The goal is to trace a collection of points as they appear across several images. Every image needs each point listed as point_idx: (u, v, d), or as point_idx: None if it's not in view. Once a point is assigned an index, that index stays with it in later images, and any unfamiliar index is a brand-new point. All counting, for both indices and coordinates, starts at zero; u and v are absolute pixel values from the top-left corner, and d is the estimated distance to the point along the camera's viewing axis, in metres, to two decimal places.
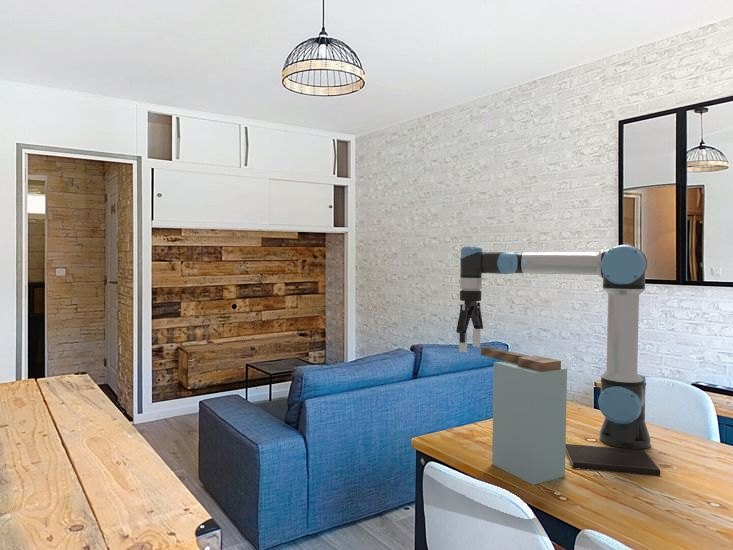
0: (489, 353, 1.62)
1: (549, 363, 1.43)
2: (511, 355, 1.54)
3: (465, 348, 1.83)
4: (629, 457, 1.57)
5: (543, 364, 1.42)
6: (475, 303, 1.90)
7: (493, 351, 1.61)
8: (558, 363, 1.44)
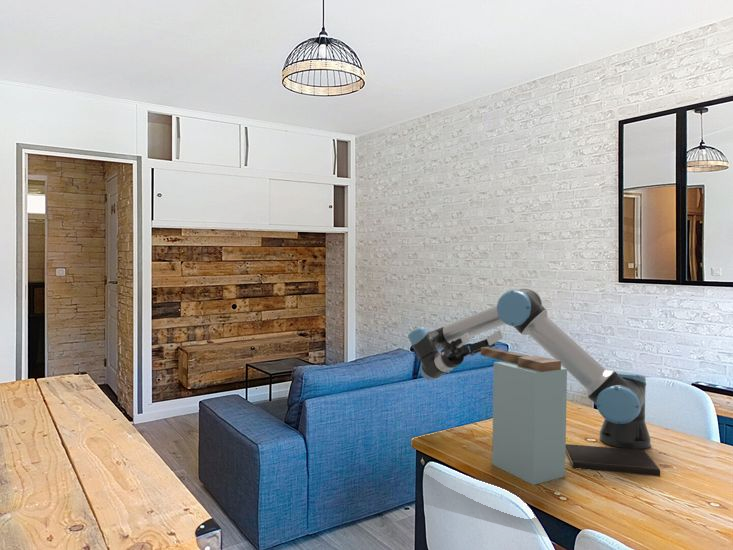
0: (489, 353, 1.62)
1: (549, 363, 1.43)
2: (511, 355, 1.54)
3: (464, 335, 1.72)
4: (629, 457, 1.57)
5: (543, 364, 1.42)
6: None
7: (493, 351, 1.61)
8: (558, 363, 1.44)
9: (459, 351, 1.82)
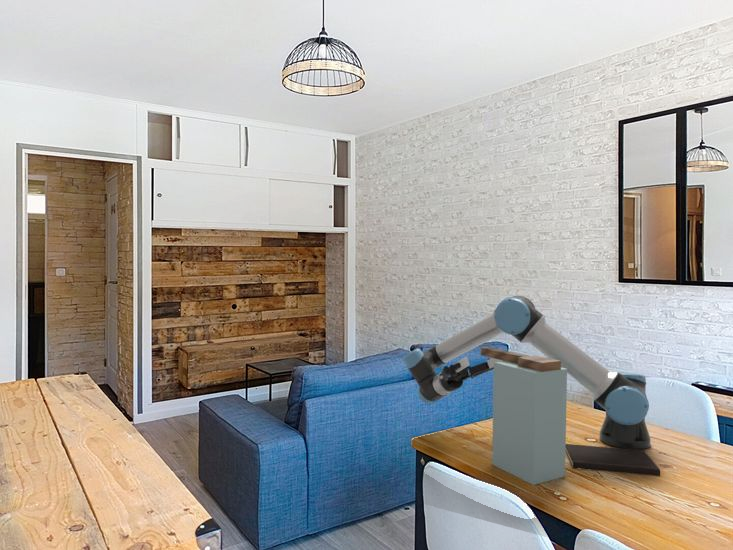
0: (489, 353, 1.62)
1: (549, 363, 1.43)
2: (511, 355, 1.54)
3: (463, 359, 1.64)
4: (629, 457, 1.57)
5: (543, 364, 1.42)
6: None
7: (493, 351, 1.61)
8: (558, 363, 1.44)
9: (458, 375, 1.74)
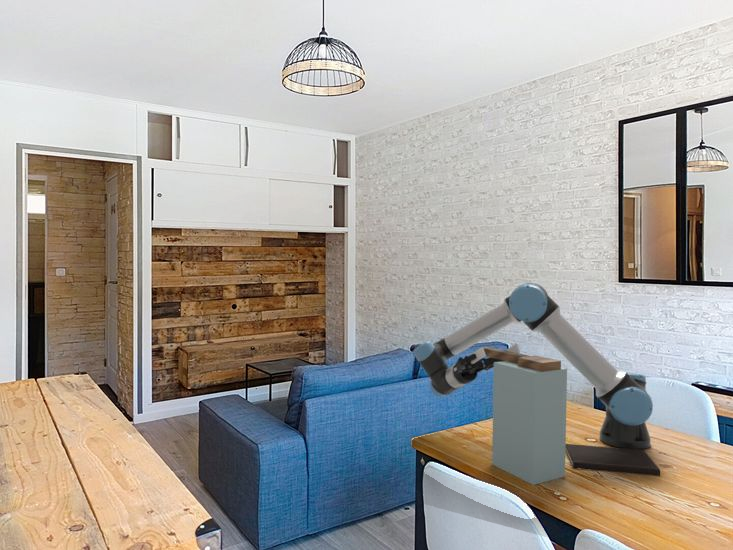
0: (489, 353, 1.62)
1: (549, 363, 1.43)
2: (511, 355, 1.54)
3: (479, 350, 1.58)
4: (629, 457, 1.57)
5: (543, 364, 1.42)
6: None
7: (493, 351, 1.61)
8: (558, 363, 1.44)
9: (473, 366, 1.68)
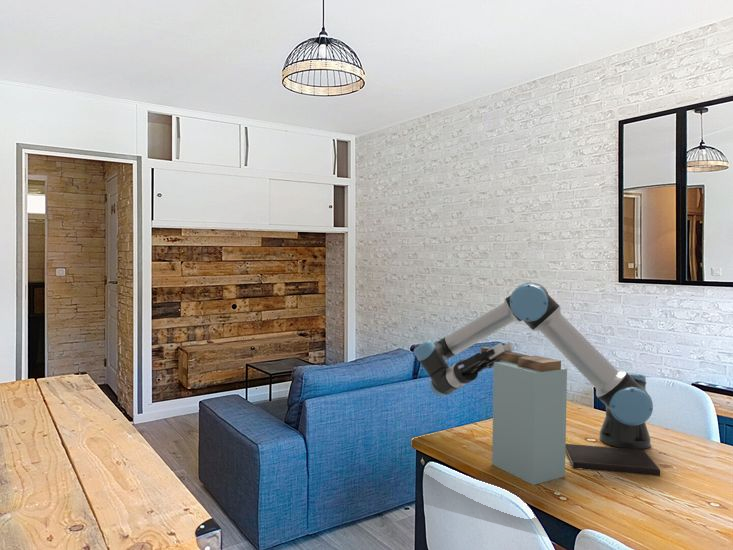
0: None
1: (549, 363, 1.43)
2: (511, 355, 1.54)
3: (497, 345, 1.59)
4: (629, 457, 1.57)
5: (543, 364, 1.42)
6: None
7: None
8: (558, 363, 1.44)
9: (473, 366, 1.68)
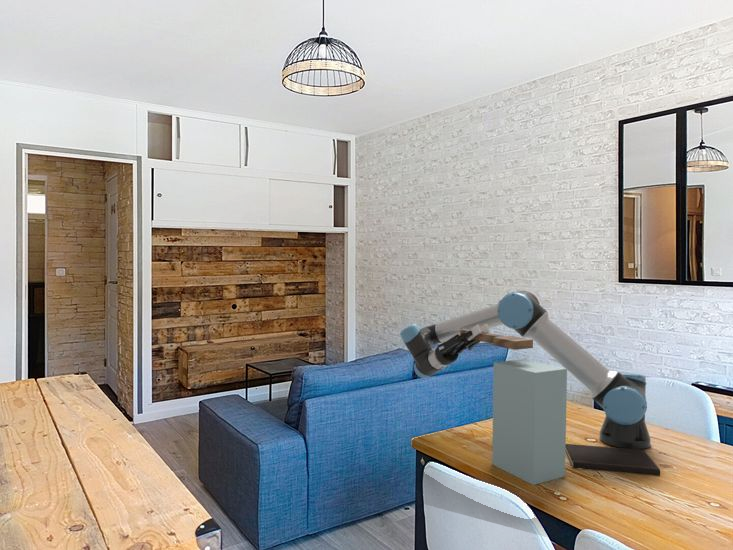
0: None
1: (521, 341, 1.51)
2: (487, 336, 1.63)
3: (474, 327, 1.67)
4: (629, 457, 1.57)
5: (515, 342, 1.50)
6: None
7: None
8: (530, 342, 1.53)
9: (453, 347, 1.77)
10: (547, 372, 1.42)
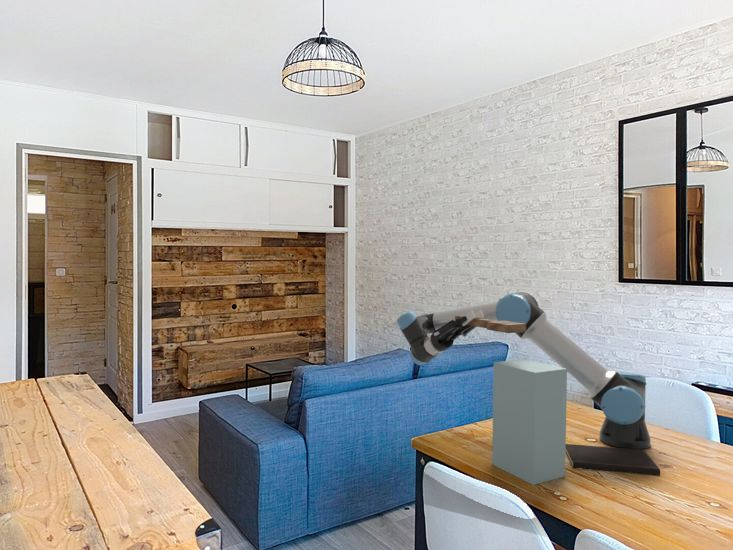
0: None
1: (514, 325, 1.54)
2: (481, 320, 1.66)
3: (469, 312, 1.70)
4: (628, 457, 1.57)
5: (508, 326, 1.53)
6: None
7: None
8: (523, 326, 1.55)
9: (448, 333, 1.79)
10: (547, 372, 1.42)
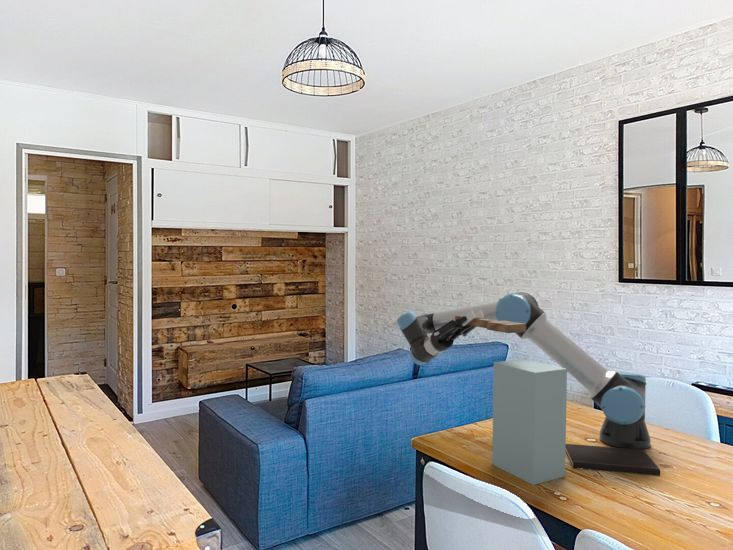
0: None
1: (514, 325, 1.54)
2: (481, 320, 1.66)
3: (469, 312, 1.70)
4: (628, 457, 1.57)
5: (508, 326, 1.53)
6: None
7: None
8: (523, 326, 1.55)
9: (448, 333, 1.79)
10: (547, 372, 1.42)
